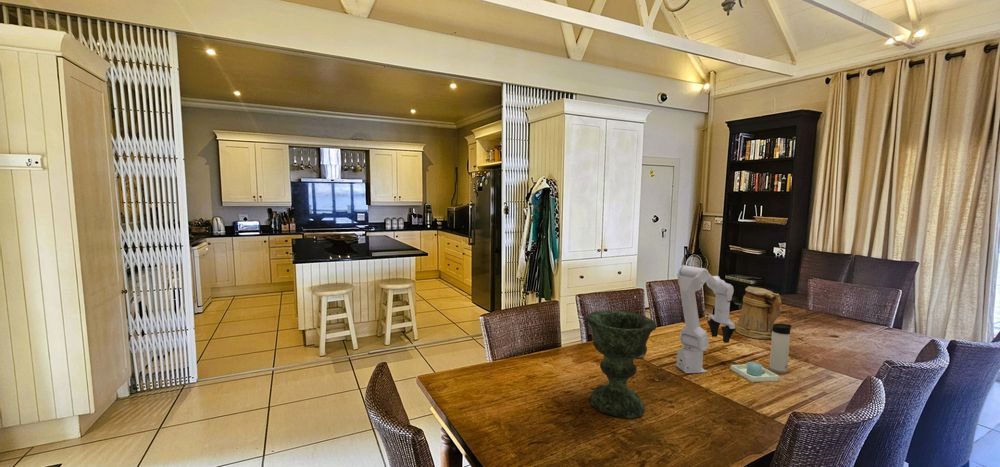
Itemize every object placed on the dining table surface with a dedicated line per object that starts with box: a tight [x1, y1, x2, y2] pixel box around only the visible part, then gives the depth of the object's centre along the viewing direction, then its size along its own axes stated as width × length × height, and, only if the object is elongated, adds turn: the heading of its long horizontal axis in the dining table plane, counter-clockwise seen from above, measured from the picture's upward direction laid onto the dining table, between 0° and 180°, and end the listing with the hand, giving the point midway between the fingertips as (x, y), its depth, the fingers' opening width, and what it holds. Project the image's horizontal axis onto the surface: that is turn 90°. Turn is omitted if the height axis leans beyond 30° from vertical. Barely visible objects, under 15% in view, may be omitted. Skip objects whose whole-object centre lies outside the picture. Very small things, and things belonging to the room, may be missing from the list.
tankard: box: [734, 286, 782, 341], centre depth 214 cm, size 18×24×25 cm
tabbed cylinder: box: [746, 361, 765, 377], centre depth 165 cm, size 7×5×4 cm
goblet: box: [584, 310, 658, 419], centre depth 138 cm, size 22×22×30 cm
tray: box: [730, 363, 780, 383], centre depth 165 cm, size 12×12×2 cm
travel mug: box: [768, 323, 792, 375], centre depth 169 cm, size 6×7×20 cm
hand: (720, 339), depth 180 cm, fingers open, 7 cm apart
